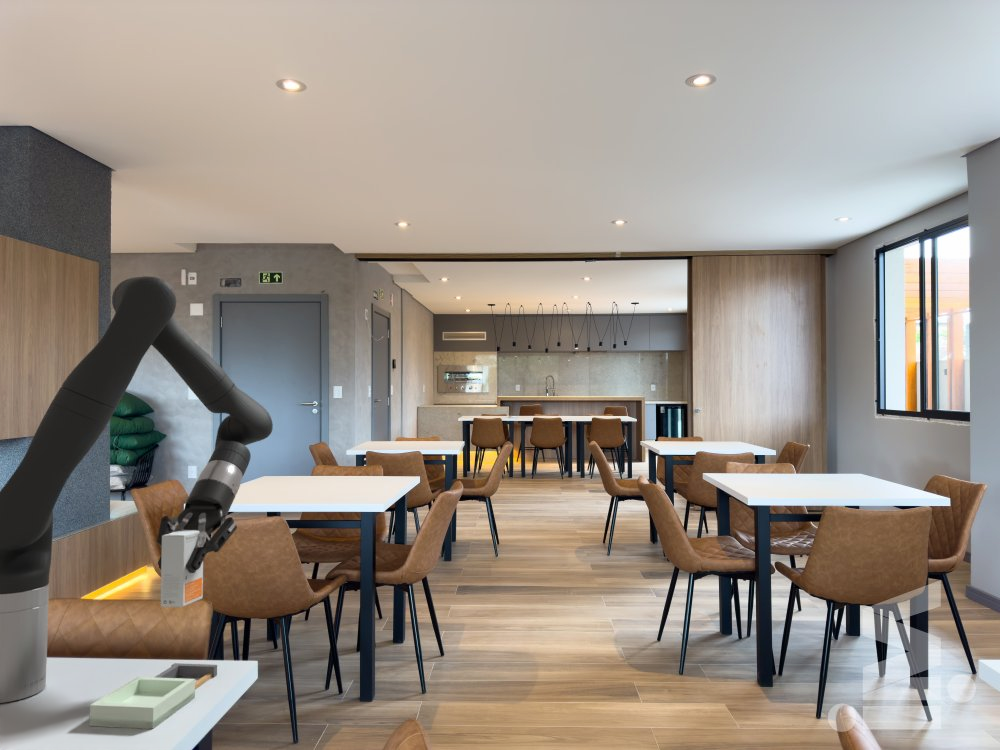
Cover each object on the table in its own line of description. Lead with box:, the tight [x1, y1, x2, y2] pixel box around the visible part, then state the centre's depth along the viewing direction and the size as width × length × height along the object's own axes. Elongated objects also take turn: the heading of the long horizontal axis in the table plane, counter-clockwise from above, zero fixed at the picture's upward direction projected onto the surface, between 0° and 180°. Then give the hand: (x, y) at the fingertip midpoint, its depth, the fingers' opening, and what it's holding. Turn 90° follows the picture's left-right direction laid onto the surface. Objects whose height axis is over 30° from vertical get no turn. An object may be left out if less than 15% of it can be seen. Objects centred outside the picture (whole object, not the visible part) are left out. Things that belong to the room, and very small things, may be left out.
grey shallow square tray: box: [155, 662, 218, 690], centre depth 116 cm, size 8×9×2 cm
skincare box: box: [160, 530, 204, 608], centre depth 117 cm, size 6×4×12 cm
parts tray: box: [89, 676, 196, 730], centre depth 106 cm, size 10×11×3 cm
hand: (176, 569), depth 116 cm, fingers closed on skincare box, 4 cm apart
